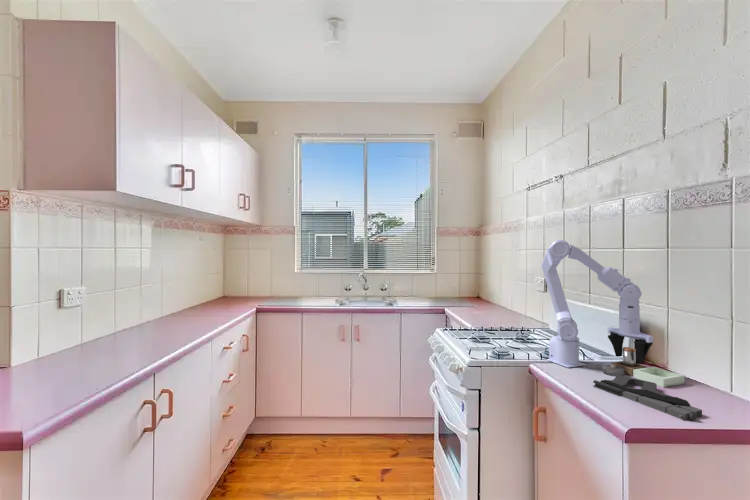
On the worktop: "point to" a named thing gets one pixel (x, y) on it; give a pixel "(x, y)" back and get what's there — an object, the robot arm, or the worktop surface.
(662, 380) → the tray
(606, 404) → the worktop surface
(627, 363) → the glass jar
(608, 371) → the brown open box
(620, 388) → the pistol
